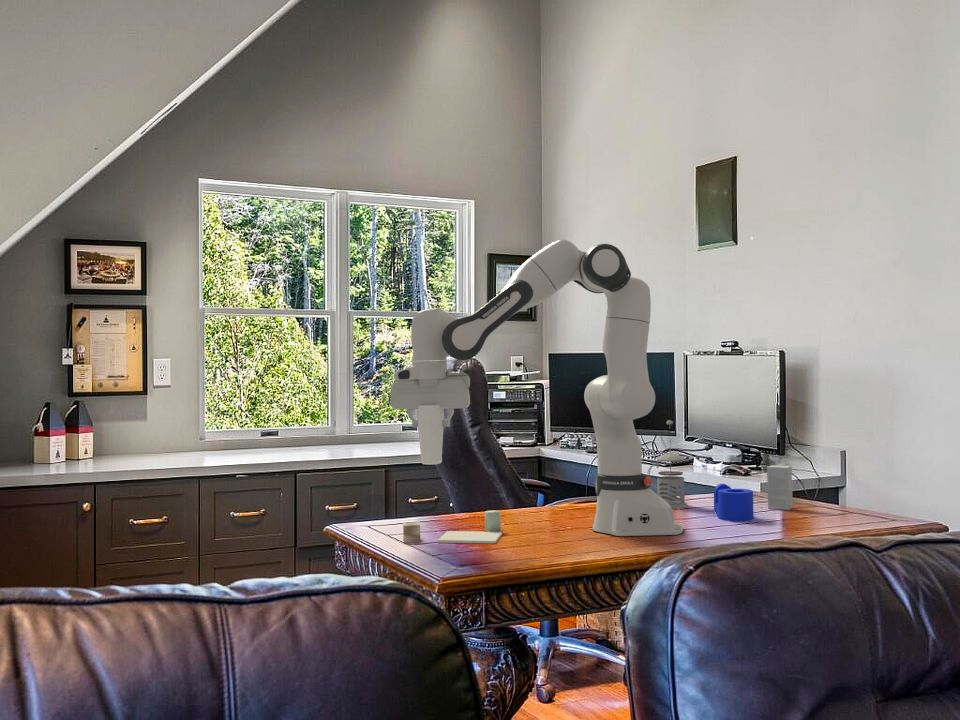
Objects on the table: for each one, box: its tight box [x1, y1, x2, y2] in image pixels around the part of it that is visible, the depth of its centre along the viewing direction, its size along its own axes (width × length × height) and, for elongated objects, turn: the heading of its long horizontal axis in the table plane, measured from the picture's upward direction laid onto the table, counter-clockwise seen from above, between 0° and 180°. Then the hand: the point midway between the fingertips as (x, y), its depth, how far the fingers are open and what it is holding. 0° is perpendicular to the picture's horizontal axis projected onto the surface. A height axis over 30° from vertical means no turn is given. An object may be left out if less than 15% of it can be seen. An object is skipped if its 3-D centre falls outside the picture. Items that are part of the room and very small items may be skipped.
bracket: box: [713, 483, 754, 523], centre depth 260 cm, size 20×9×8 cm, turn 179°
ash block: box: [402, 521, 421, 543], centre depth 232 cm, size 4×4×4 cm
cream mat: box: [437, 530, 503, 544], centre depth 233 cm, size 14×12×1 cm
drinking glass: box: [416, 405, 445, 466], centre depth 242 cm, size 7×7×15 cm
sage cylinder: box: [484, 510, 502, 532], centre depth 242 cm, size 4×4×5 cm
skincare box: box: [766, 464, 794, 511], centre depth 270 cm, size 6×4×12 cm
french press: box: [647, 419, 689, 509], centre depth 279 cm, size 10×12×25 cm
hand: (431, 426), depth 242 cm, fingers closed on drinking glass, 7 cm apart
